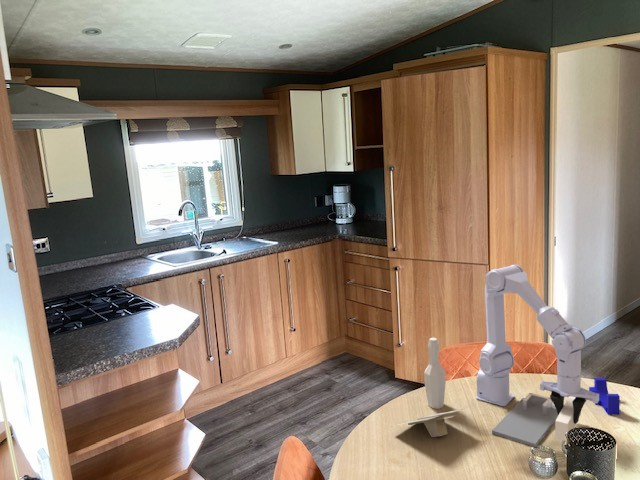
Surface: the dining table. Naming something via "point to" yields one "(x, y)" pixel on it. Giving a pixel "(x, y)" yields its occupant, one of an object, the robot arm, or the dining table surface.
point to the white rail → (565, 419)
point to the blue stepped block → (606, 397)
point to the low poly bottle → (434, 377)
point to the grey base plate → (528, 420)
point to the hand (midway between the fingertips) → (568, 419)
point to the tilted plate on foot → (434, 423)
